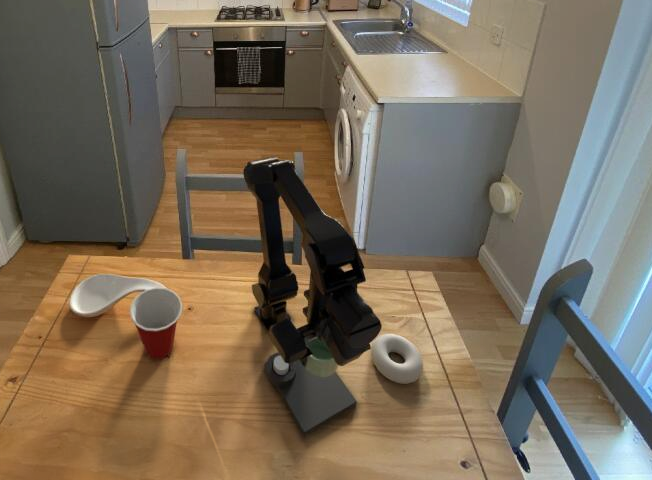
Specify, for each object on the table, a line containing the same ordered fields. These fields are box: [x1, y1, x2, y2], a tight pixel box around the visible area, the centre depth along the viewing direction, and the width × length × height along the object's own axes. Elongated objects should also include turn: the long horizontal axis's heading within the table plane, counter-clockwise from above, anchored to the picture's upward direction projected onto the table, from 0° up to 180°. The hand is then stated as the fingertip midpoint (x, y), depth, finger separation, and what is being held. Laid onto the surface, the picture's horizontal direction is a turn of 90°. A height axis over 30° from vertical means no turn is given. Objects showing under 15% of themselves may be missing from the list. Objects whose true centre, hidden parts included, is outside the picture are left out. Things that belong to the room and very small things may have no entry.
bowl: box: [305, 337, 339, 377], centre depth 77 cm, size 7×7×4 cm
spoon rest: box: [68, 273, 167, 318], centre depth 100 cm, size 24×12×7 cm, turn 89°
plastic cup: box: [129, 287, 183, 360], centre depth 89 cm, size 11×11×12 cm
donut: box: [370, 333, 424, 385], centre depth 86 cm, size 10×3×10 cm
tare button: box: [273, 356, 289, 375], centre depth 84 cm, size 3×3×2 cm
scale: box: [264, 352, 358, 437], centre depth 82 cm, size 14×13×3 cm
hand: (319, 356), depth 77 cm, fingers closed on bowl, 7 cm apart
